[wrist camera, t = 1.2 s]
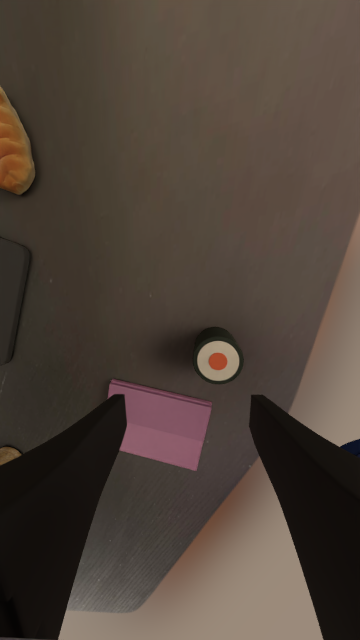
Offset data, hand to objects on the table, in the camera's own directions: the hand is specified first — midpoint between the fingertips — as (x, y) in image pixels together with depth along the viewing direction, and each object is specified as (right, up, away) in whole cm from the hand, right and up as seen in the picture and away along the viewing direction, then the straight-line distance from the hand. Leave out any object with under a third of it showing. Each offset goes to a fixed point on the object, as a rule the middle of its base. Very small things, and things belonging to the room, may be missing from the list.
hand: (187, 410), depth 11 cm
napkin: (-3, -8, +13) cm, 15 cm away
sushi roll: (+3, +2, +10) cm, 11 cm away
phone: (-23, +7, +13) cm, 27 cm away
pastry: (-19, +24, +10) cm, 32 cm away
